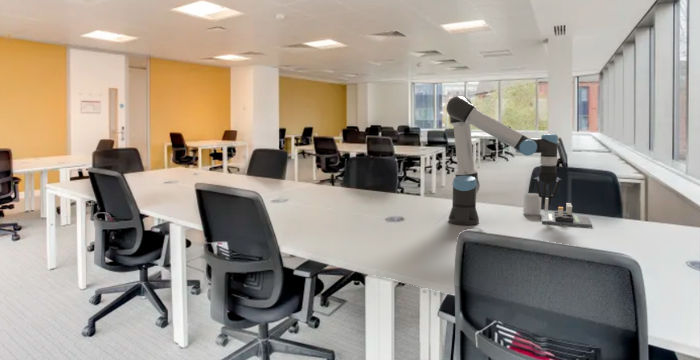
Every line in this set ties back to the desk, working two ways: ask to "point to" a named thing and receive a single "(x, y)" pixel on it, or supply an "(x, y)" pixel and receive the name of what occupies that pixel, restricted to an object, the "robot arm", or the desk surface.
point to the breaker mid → (569, 210)
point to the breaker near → (560, 211)
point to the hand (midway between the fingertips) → (546, 210)
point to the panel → (581, 218)
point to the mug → (532, 204)
